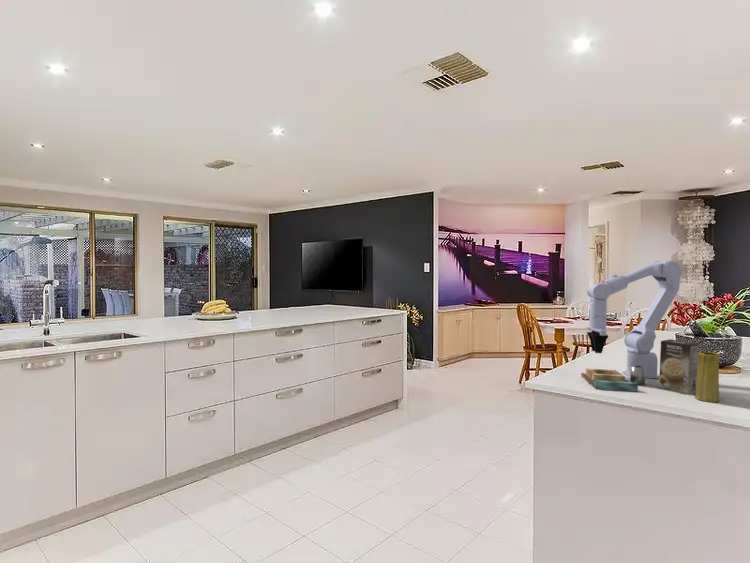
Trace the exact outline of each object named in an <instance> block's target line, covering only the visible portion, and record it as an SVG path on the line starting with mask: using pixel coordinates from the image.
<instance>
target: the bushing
mask: <svg viewBox="0 0 750 563" xmlns="http://www.w3.org/2000/svg"><path fill="white" fill-rule="evenodd" d="M629 377H630V378H629V379H630V380H629V382H635V383H638V387H640V386H641V387H642V386H645V385H646V378H645V367H643V366H637V365H632V366H631V370H630V376H629Z"/></svg>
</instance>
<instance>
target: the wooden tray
mask: <svg viewBox="0 0 750 563" xmlns="http://www.w3.org/2000/svg"><path fill="white" fill-rule="evenodd" d="M585 374H586V375H587V376H588V377H589V378H591V379H592V380H593V381H594V380H598V381H617V382H625V379H626V376H625V375H624V374H622V373H620V372H619V371H618V370H616V369H601V368H585Z"/></svg>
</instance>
